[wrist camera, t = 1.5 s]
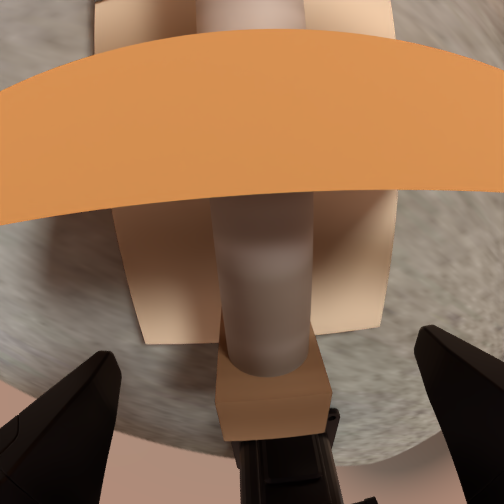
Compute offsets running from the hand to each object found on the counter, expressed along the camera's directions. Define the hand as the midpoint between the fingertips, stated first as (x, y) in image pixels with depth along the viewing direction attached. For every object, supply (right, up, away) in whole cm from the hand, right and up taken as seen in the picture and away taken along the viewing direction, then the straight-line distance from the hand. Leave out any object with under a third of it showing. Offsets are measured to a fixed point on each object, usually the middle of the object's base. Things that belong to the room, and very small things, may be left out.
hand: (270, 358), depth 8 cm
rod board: (-1, +9, +1) cm, 9 cm away
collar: (0, +7, 0) cm, 7 cm away
